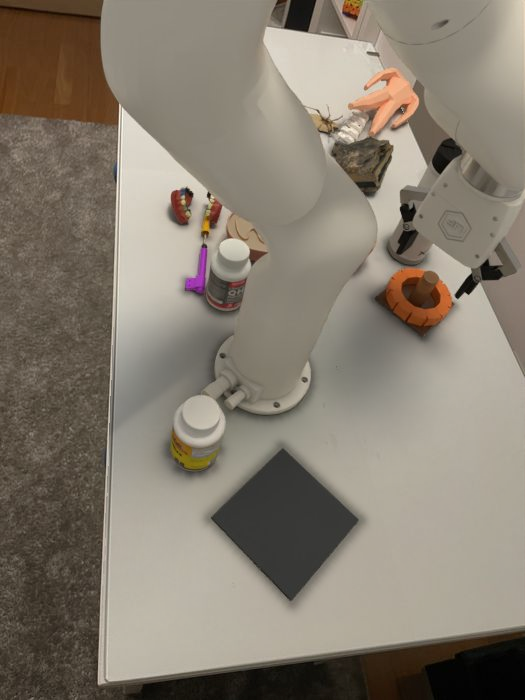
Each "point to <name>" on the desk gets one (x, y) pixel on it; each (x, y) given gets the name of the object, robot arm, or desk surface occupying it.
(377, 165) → the rock
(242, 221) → the mitochondrion model
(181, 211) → the dental model
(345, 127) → the white ridged long piece
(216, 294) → the pill bottle
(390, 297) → the ring
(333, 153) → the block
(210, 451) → the supplement bottle
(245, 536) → the mat
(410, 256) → the travel mug
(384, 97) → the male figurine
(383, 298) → the ring post
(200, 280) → the purple and orange tool
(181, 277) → the desk surface
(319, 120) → the insect
